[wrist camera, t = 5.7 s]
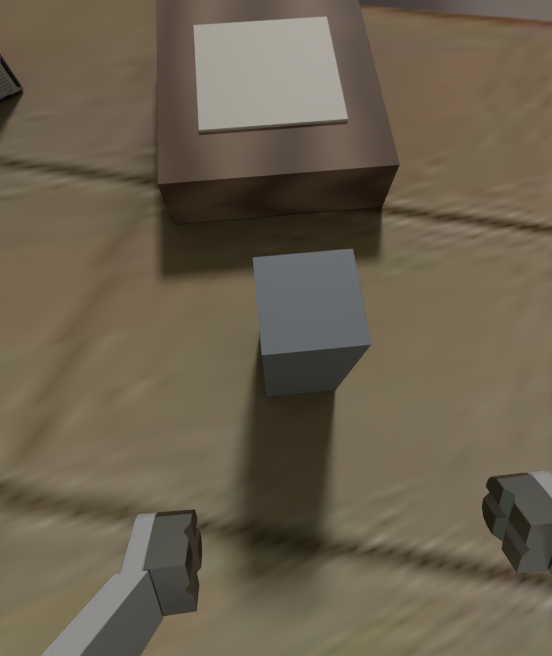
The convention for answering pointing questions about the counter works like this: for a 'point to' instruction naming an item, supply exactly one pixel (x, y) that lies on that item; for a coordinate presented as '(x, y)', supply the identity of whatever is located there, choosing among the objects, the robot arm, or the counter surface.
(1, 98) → the candy bar box
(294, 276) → the slate block
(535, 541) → the robot arm
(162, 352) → the counter surface
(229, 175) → the walnut base
